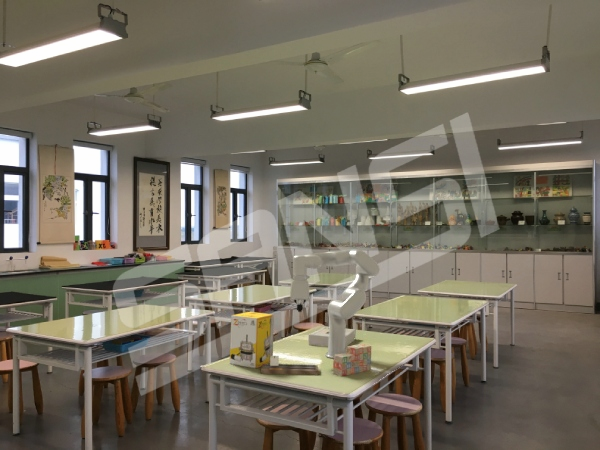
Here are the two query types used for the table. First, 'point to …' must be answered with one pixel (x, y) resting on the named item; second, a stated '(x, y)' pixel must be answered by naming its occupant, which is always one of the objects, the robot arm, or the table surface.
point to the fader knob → (274, 360)
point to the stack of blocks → (353, 360)
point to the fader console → (290, 369)
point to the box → (322, 337)
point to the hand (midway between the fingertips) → (299, 311)
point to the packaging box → (251, 339)
